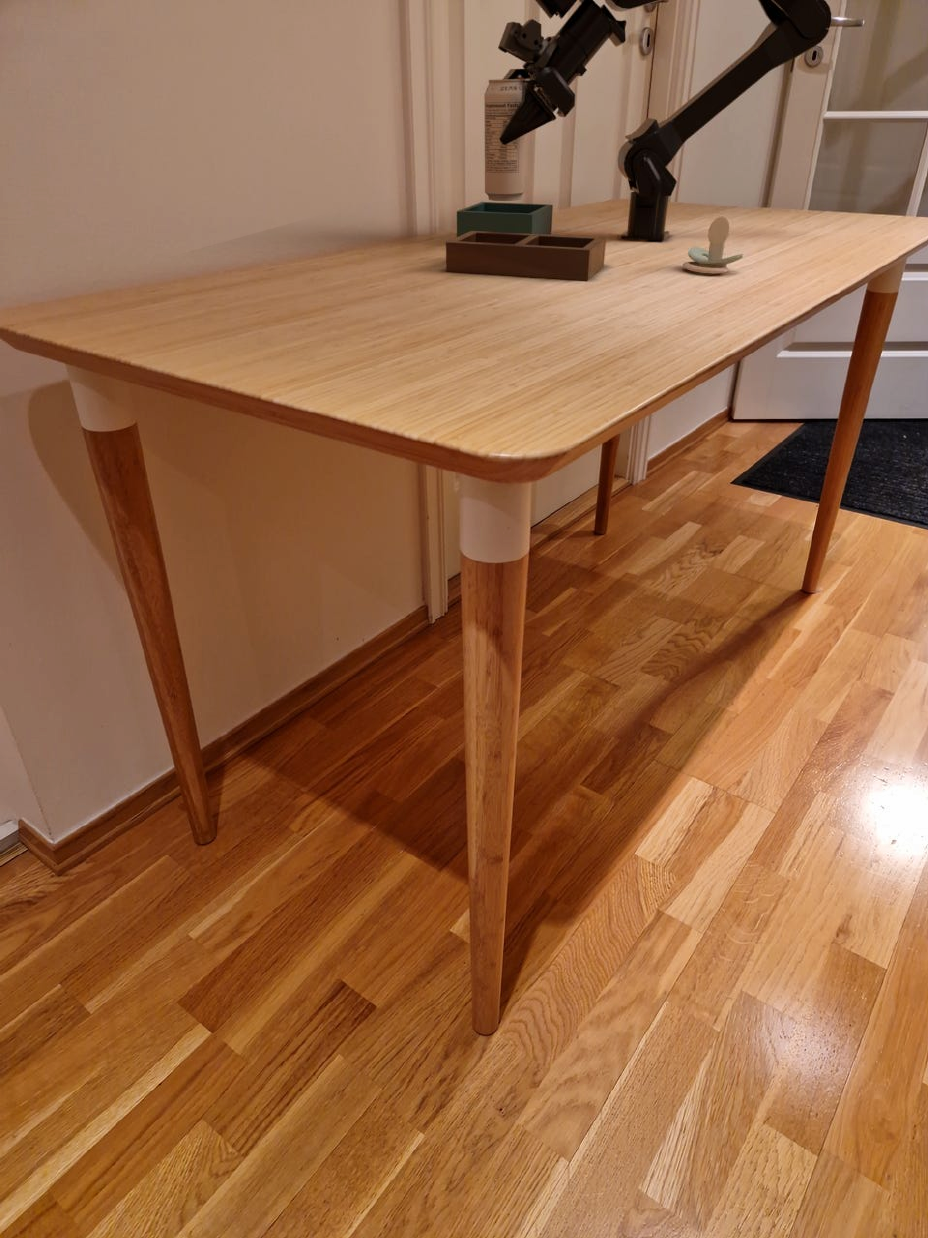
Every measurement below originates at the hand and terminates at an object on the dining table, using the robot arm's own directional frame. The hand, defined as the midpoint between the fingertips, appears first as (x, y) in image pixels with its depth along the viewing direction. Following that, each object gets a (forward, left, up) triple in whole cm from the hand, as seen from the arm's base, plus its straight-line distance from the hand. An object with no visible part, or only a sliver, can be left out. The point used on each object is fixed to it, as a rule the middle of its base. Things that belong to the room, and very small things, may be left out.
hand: (496, 140), depth 120 cm
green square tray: (-1, +1, -13) cm, 13 cm away
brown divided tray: (+20, +11, -13) cm, 26 cm away
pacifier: (+14, +33, -14) cm, 38 cm away
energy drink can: (-1, +1, -8) cm, 8 cm away
